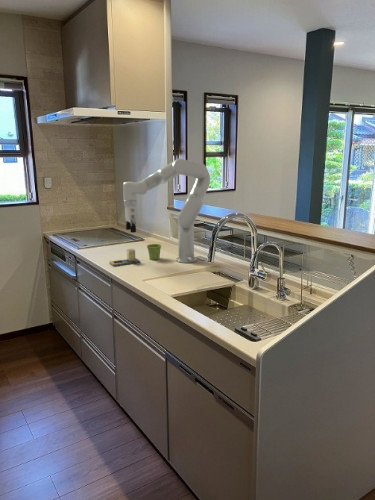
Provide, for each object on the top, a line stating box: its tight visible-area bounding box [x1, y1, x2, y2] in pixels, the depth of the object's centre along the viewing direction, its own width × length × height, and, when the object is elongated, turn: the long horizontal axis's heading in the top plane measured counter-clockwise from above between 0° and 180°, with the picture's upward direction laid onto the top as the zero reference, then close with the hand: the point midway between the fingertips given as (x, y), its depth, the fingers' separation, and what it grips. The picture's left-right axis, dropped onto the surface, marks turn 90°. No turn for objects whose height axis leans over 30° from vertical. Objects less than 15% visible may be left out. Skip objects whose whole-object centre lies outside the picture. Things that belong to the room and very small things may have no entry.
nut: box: [126, 248, 137, 262], centre depth 246 cm, size 4×4×8 cm
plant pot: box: [146, 243, 162, 261], centre depth 253 cm, size 9×9×9 cm
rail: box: [109, 257, 141, 267], centre depth 245 cm, size 17×7×1 cm, turn 117°
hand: (131, 230), depth 245 cm, fingers open, 9 cm apart
